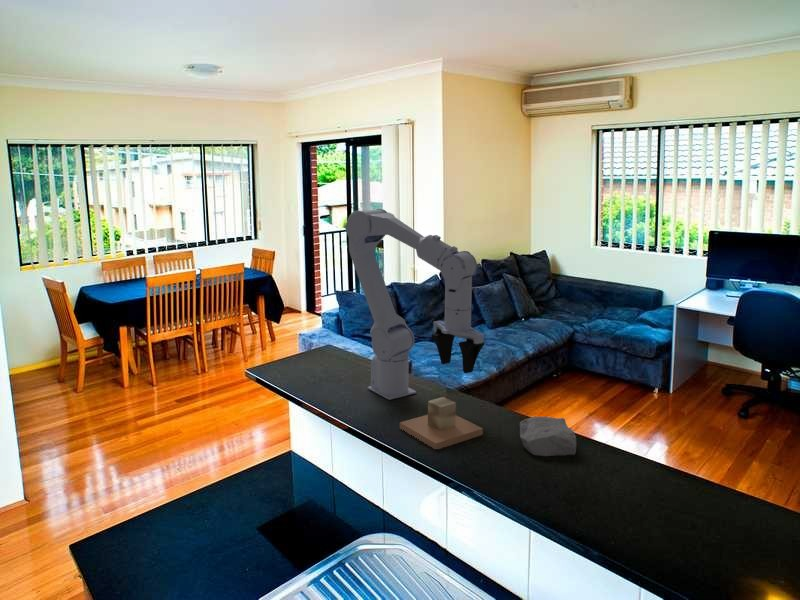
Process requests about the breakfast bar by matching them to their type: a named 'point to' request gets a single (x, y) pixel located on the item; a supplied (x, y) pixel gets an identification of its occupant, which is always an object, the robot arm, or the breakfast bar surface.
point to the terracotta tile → (440, 432)
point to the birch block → (441, 413)
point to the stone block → (547, 436)
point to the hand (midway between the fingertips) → (456, 367)
